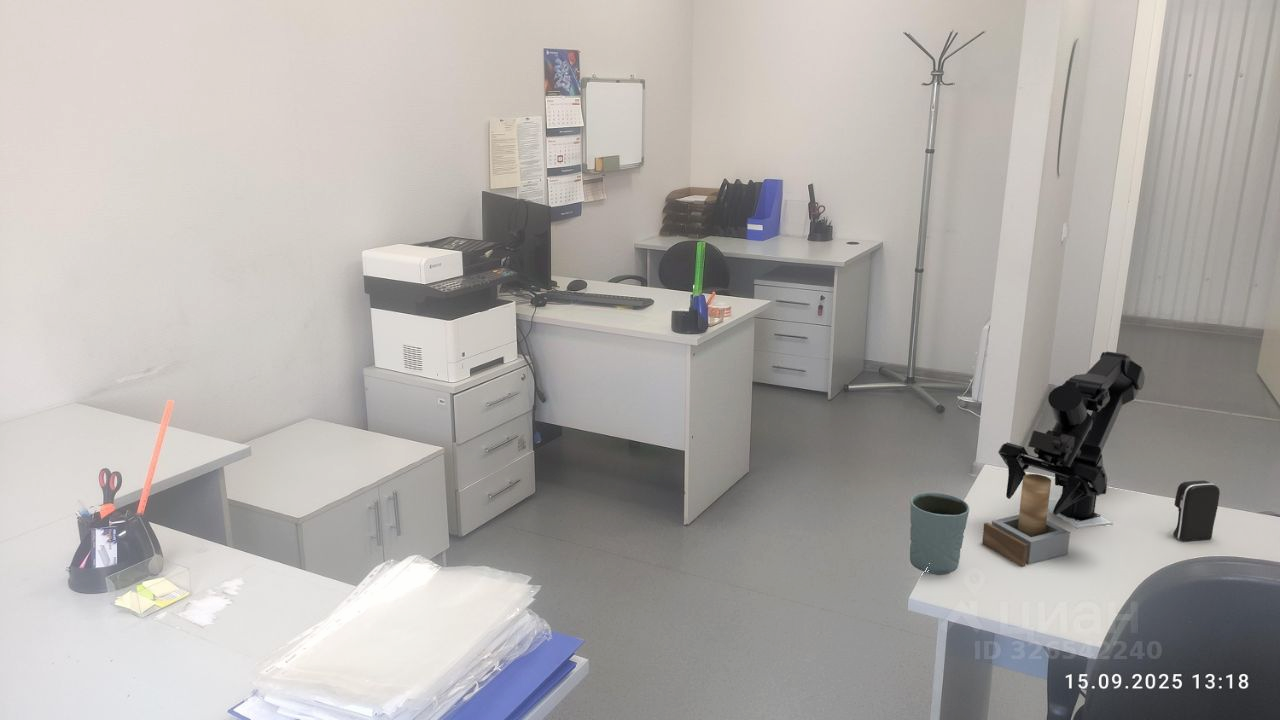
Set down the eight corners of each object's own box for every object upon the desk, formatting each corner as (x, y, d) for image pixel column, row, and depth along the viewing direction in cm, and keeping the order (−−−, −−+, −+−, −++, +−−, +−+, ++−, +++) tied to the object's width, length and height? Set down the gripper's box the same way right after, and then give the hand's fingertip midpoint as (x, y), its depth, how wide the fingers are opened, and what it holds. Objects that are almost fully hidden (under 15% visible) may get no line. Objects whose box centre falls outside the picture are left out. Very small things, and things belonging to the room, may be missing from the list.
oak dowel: (1037, 537, 171) (1044, 474, 168) (1048, 548, 166) (1055, 483, 163) (1012, 537, 171) (1019, 473, 168) (1022, 548, 167) (1028, 483, 163)
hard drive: (1037, 501, 188) (1077, 526, 176) (1071, 497, 190) (1113, 522, 178) (1037, 508, 189) (1076, 534, 177) (1070, 504, 190) (1112, 529, 179)
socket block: (1027, 532, 175) (1029, 511, 174) (1067, 553, 167) (1070, 532, 165) (989, 542, 172) (992, 520, 170) (1028, 564, 163) (1031, 542, 162)
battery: (1198, 530, 175) (1207, 477, 172) (1213, 539, 172) (1222, 484, 169) (1166, 533, 174) (1174, 479, 171) (1180, 542, 171) (1189, 487, 168)
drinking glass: (895, 556, 167) (899, 497, 164) (937, 545, 171) (941, 488, 168) (932, 581, 158) (937, 519, 155) (976, 569, 162) (981, 508, 159)
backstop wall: (985, 543, 171) (987, 522, 170) (1025, 566, 162) (1027, 544, 161) (982, 544, 171) (984, 523, 170) (1022, 567, 162) (1024, 545, 161)
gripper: (1008, 402, 172) (971, 470, 168) (1106, 427, 157) (1067, 501, 154) (1025, 432, 178) (990, 497, 175) (1121, 458, 164) (1084, 530, 161)
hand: (1030, 505), depth 166 cm, fingers open, 9 cm apart
